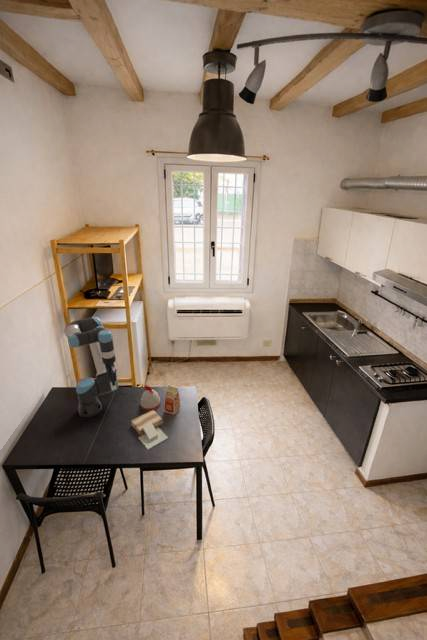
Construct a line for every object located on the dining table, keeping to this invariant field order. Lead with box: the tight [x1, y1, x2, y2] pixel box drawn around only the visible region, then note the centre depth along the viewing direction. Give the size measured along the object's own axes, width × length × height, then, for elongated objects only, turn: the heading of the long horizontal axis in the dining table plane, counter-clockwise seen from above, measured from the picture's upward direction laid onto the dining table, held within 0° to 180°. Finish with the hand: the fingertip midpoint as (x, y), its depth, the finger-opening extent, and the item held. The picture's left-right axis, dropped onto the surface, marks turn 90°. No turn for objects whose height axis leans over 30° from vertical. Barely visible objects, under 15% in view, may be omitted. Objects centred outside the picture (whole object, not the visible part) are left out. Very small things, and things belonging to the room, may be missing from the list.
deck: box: [130, 409, 164, 437], centre depth 200 cm, size 12×16×4 cm
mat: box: [137, 426, 169, 450], centre depth 191 cm, size 12×14×1 cm
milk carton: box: [163, 384, 181, 415], centre depth 211 cm, size 9×9×20 cm
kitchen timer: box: [140, 384, 161, 411], centre depth 217 cm, size 14×14×15 cm
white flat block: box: [142, 422, 158, 440], centre depth 191 cm, size 9×6×2 cm, turn 41°
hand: (113, 388), depth 193 cm, fingers closed
